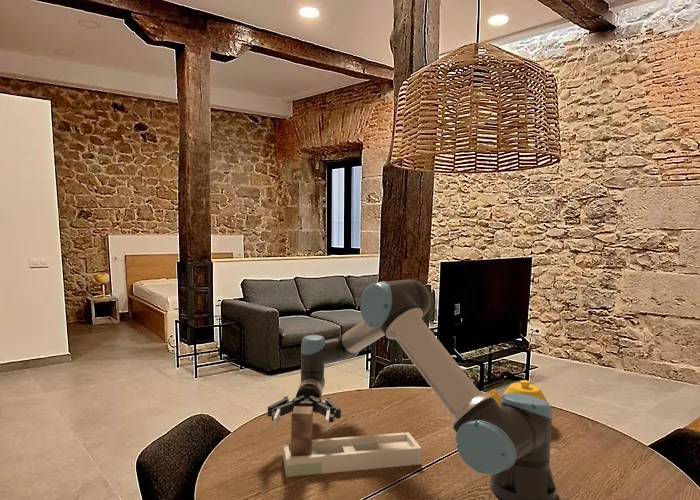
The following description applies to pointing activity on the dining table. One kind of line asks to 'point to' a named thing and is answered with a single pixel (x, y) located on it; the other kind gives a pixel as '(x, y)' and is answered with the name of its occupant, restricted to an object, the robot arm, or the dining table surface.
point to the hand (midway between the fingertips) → (300, 424)
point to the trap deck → (353, 454)
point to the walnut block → (301, 431)
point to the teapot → (520, 391)
